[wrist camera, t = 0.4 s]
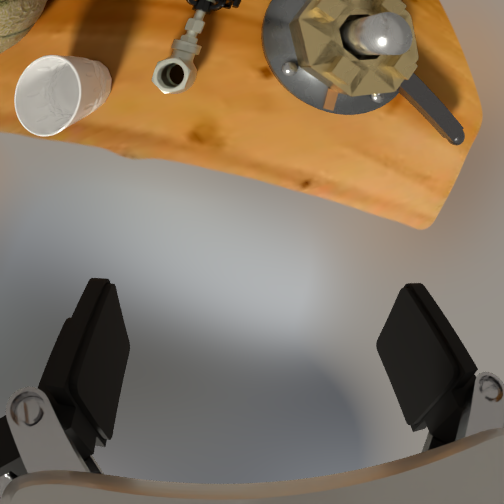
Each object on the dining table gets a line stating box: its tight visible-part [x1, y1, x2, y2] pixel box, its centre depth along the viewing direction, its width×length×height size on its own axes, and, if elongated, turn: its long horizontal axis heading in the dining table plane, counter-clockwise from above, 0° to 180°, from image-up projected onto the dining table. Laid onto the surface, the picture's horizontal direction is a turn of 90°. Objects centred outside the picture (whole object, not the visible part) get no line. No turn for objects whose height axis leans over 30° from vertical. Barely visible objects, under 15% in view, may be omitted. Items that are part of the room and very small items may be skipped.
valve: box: [152, 0, 241, 94], centre depth 26 cm, size 7×7×12 cm
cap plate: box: [261, 0, 413, 115], centre depth 24 cm, size 18×18×13 cm
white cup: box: [14, 55, 112, 136], centre depth 25 cm, size 8×8×10 cm
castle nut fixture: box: [289, 0, 465, 145], centre depth 27 cm, size 25×12×7 cm, turn 58°
